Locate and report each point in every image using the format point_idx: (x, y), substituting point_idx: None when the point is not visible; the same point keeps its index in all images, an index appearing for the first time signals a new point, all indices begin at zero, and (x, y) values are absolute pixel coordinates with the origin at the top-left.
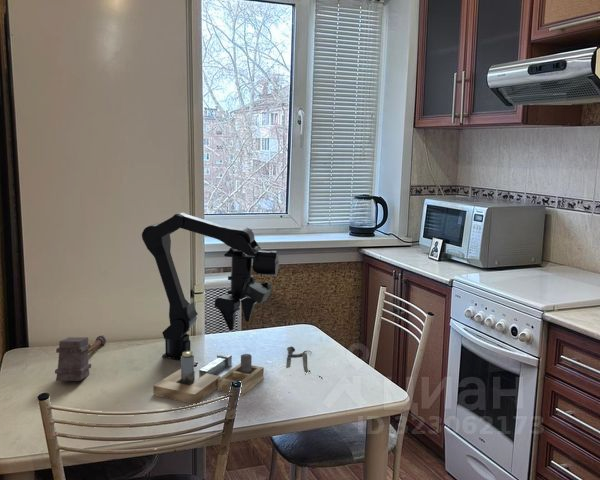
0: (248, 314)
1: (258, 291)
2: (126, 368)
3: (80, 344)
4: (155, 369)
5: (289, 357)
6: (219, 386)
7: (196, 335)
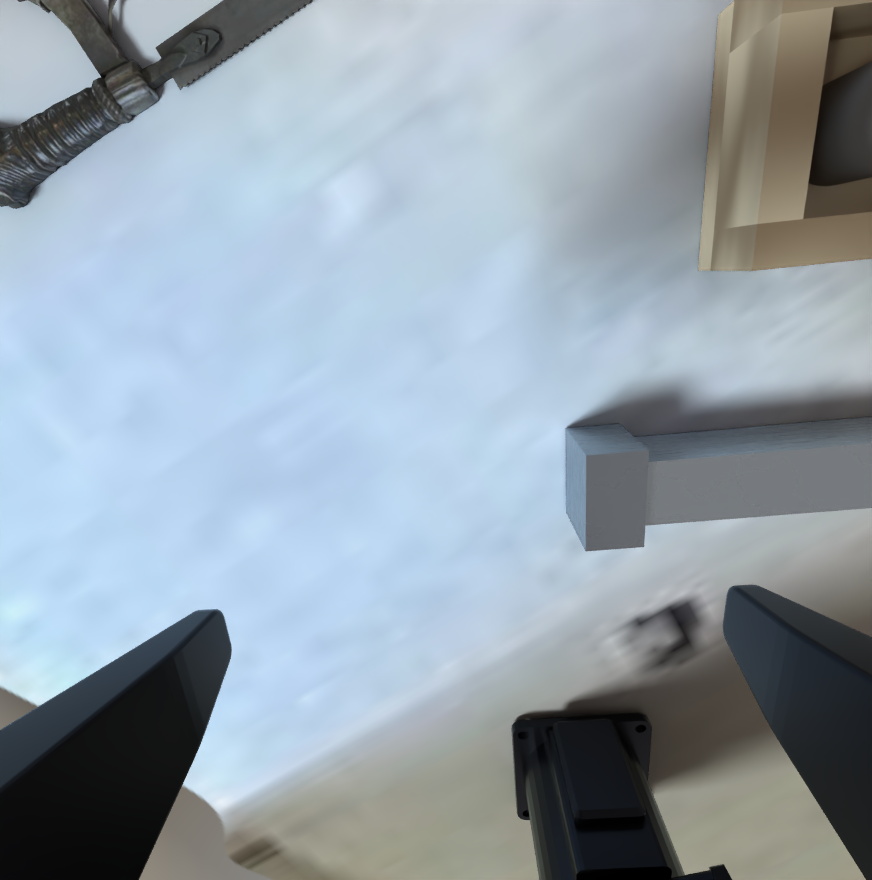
0: (145, 717)
1: None
2: None
3: None
4: None
5: (168, 58)
6: None
7: (261, 835)
